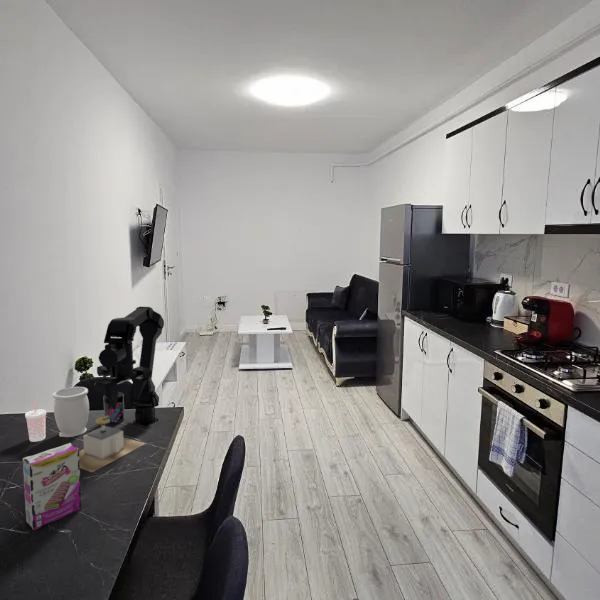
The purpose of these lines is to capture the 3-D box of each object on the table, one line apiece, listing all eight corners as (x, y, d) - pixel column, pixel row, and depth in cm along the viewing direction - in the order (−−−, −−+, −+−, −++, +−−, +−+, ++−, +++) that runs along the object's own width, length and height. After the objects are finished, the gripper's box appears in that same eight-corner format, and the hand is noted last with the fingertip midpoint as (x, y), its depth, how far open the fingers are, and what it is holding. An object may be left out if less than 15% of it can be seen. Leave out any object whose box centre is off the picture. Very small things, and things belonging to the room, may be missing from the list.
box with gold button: (105, 443, 145) (105, 424, 144) (128, 450, 140) (127, 430, 139) (84, 454, 138) (83, 433, 137) (107, 462, 133) (106, 441, 132)
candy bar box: (34, 532, 103) (29, 465, 101) (25, 523, 106) (20, 457, 104) (83, 509, 112) (79, 447, 109) (74, 501, 115) (70, 441, 112)
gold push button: (104, 434, 142) (103, 413, 141) (117, 437, 140) (116, 417, 139) (90, 441, 138) (89, 420, 137) (102, 445, 135) (101, 423, 134)
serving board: (114, 436, 151) (114, 434, 151) (145, 445, 145) (145, 443, 145) (59, 463, 134) (59, 460, 134) (92, 474, 128) (92, 472, 127)
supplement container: (100, 425, 160) (99, 397, 158) (112, 418, 167) (111, 391, 165) (117, 427, 158) (115, 399, 157) (128, 420, 165) (127, 392, 163)
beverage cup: (41, 443, 146) (38, 401, 144) (22, 442, 146) (19, 401, 144) (51, 434, 152) (49, 395, 150) (34, 434, 152) (31, 394, 150)
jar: (64, 443, 146) (62, 399, 144) (50, 434, 152) (47, 392, 150) (96, 432, 154) (94, 390, 152) (81, 424, 160) (78, 384, 158)
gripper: (128, 347, 155) (130, 390, 158) (80, 361, 139) (83, 409, 142) (152, 352, 151) (153, 396, 153) (105, 367, 134) (108, 416, 137)
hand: (125, 404), depth 146 cm, fingers open, 9 cm apart
